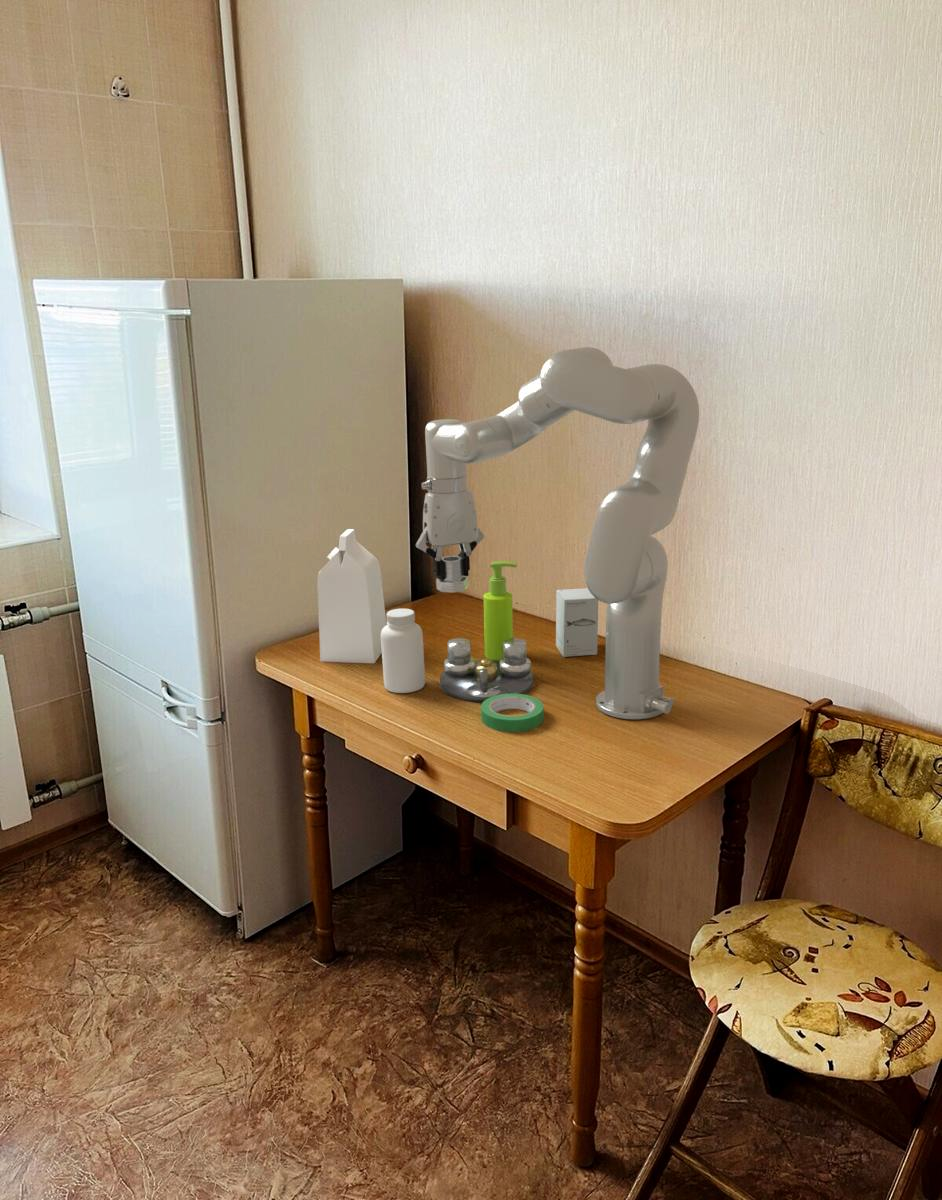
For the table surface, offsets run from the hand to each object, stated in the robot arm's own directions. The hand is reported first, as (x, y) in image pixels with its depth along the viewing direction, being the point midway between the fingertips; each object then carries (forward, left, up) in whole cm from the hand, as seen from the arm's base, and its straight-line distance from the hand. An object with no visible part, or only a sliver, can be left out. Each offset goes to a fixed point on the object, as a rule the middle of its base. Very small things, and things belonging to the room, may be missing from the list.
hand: (452, 575), depth 188 cm
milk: (+20, +11, -19) cm, 30 cm away
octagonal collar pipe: (0, 0, -3) cm, 3 cm away
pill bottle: (-2, +14, -19) cm, 24 cm away
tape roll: (-27, +9, -19) cm, 34 cm away
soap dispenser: (-3, -10, -19) cm, 22 cm away
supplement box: (-12, -23, -19) cm, 32 cm away
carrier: (-12, +2, -19) cm, 22 cm away
